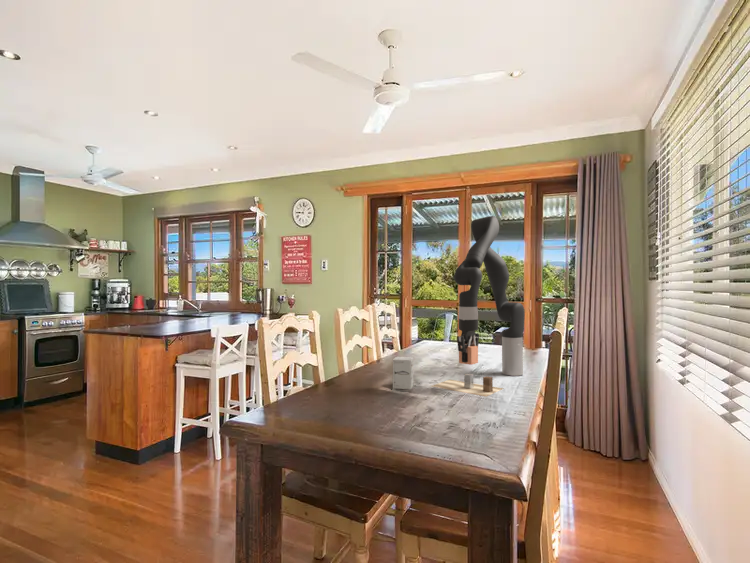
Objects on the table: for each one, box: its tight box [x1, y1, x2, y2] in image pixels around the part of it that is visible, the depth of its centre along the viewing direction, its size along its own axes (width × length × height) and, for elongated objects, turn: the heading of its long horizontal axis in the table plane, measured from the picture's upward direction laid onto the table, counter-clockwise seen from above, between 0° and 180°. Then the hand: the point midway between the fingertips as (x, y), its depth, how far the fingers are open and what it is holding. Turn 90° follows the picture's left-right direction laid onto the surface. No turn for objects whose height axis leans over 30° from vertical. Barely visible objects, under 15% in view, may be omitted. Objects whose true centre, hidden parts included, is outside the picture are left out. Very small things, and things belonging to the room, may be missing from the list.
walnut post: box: [482, 376, 494, 392], centre depth 157 cm, size 3×3×5 cm
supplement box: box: [392, 356, 414, 393], centre depth 165 cm, size 7×7×13 cm
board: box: [431, 379, 504, 398], centre depth 163 cm, size 15×24×1 cm, turn 49°
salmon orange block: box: [458, 345, 479, 366], centre depth 163 cm, size 5×5×7 cm
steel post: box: [463, 373, 474, 389], centre depth 163 cm, size 3×3×5 cm
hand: (468, 360), depth 163 cm, fingers closed on salmon orange block, 5 cm apart
